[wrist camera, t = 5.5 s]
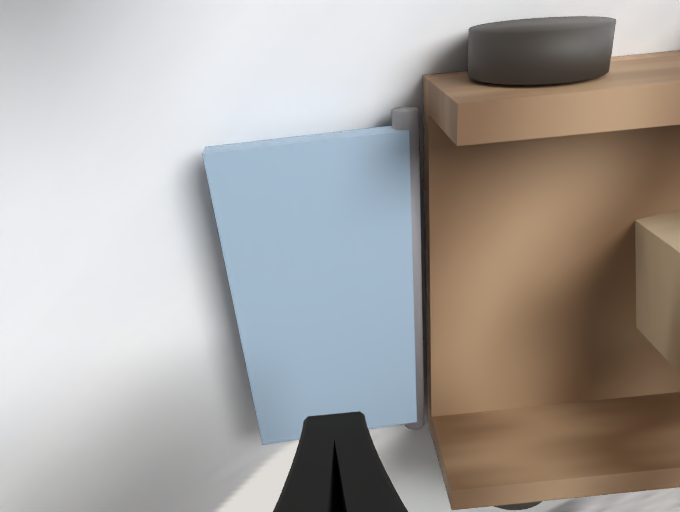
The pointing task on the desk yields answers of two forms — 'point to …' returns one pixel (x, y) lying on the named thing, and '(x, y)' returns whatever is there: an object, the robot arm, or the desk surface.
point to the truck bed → (547, 264)
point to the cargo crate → (659, 282)
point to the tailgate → (326, 272)
